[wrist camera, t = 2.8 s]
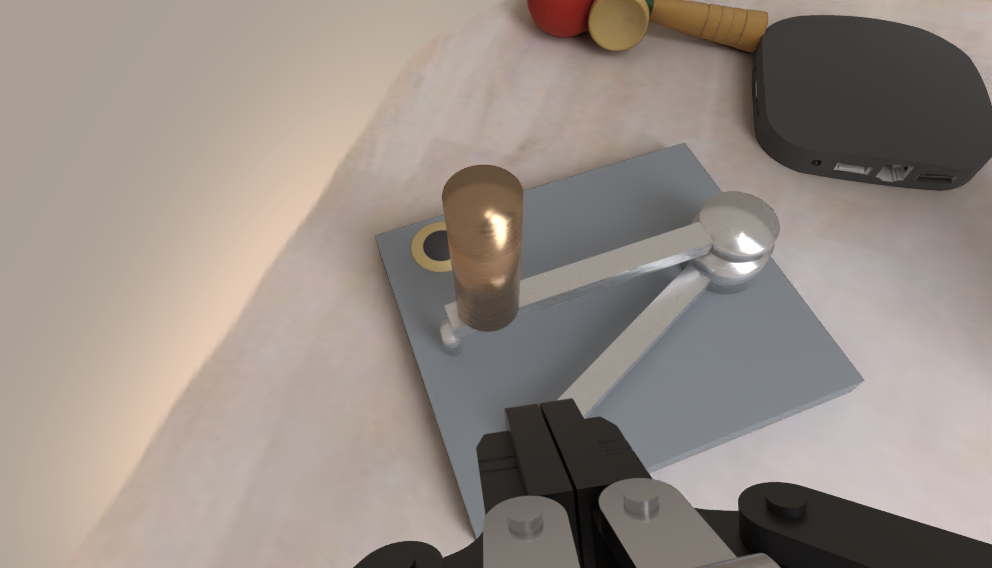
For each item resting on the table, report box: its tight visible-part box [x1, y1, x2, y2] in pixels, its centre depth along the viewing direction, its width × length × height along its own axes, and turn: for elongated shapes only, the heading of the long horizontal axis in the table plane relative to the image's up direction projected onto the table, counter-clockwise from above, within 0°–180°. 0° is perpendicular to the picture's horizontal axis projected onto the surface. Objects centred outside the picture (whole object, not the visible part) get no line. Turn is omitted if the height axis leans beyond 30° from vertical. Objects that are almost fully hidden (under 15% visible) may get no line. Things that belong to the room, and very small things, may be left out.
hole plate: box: [375, 143, 865, 539], centre depth 34 cm, size 21×18×2 cm
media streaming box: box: [752, 15, 992, 190], centre depth 43 cm, size 15×15×3 cm
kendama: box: [527, 0, 768, 53], centre depth 47 cm, size 8×6×18 cm
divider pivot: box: [557, 211, 774, 419], centre depth 31 cm, size 19×4×2 cm, turn 131°
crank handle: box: [440, 165, 780, 356], centre depth 28 cm, size 18×4×11 cm, turn 111°
